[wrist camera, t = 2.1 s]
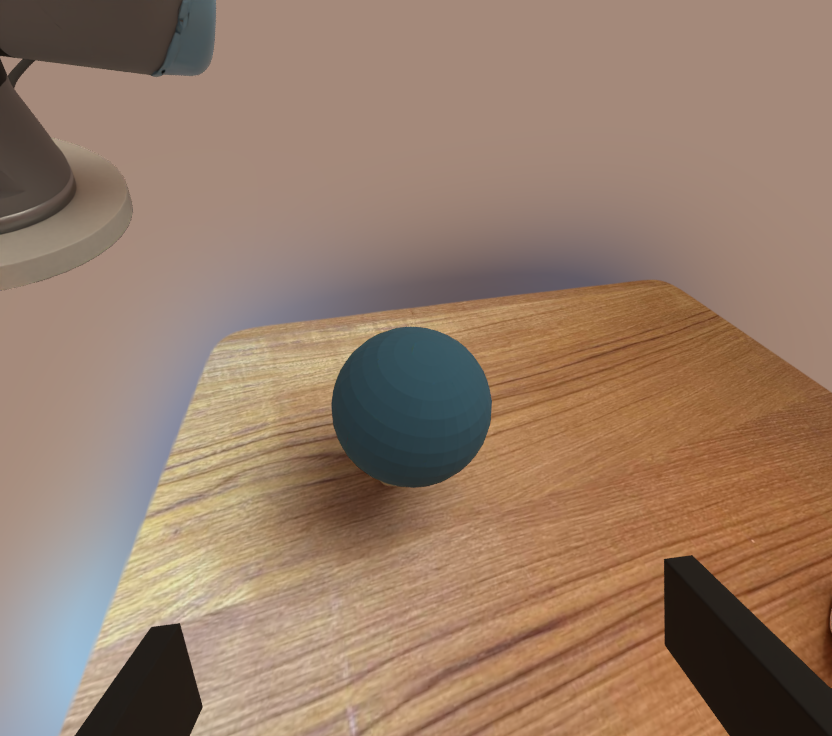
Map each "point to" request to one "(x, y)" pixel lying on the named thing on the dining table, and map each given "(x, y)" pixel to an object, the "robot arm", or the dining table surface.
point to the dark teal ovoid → (411, 407)
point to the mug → (831, 621)
